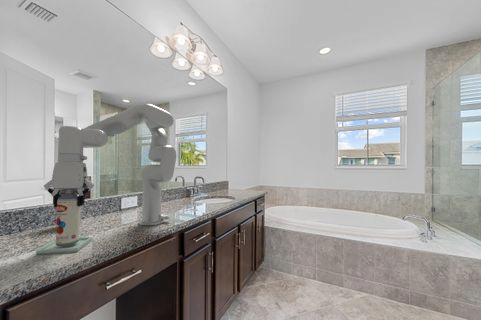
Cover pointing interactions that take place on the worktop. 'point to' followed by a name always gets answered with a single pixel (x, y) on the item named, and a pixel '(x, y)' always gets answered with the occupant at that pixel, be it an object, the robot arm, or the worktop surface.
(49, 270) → the worktop surface
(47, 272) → the worktop surface
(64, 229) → the aerosol can
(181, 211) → the worktop surface
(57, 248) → the tray
